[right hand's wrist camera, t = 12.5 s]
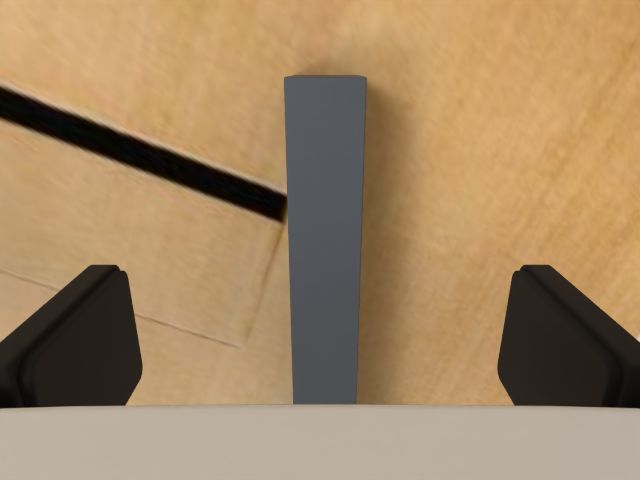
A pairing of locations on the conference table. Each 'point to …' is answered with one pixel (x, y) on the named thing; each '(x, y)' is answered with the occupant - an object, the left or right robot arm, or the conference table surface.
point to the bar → (325, 232)
